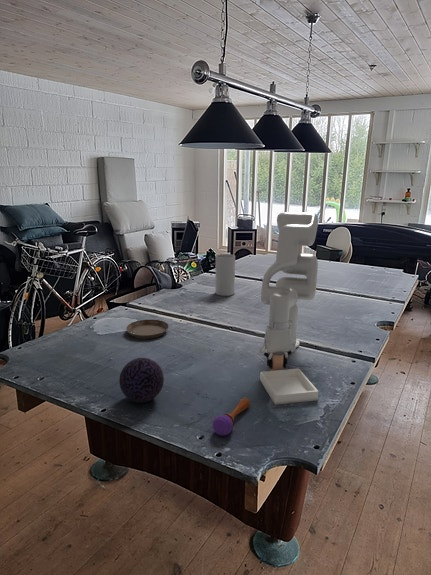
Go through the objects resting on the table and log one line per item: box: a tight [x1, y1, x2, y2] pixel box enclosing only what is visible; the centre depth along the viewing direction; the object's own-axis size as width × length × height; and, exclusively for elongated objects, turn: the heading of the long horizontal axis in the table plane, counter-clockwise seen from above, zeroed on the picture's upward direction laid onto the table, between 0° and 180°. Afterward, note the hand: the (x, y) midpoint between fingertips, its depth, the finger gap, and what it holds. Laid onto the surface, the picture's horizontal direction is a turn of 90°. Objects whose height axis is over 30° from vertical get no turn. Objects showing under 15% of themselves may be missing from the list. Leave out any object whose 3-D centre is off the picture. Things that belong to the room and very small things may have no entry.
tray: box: [259, 367, 319, 406], centre depth 150 cm, size 18×16×4 cm
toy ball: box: [118, 357, 165, 403], centre depth 142 cm, size 15×15×15 cm
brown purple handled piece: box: [212, 397, 251, 437], centre depth 131 cm, size 6×6×20 cm
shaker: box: [269, 352, 284, 371], centre depth 164 cm, size 5×5×9 cm
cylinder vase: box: [214, 253, 236, 297], centre depth 267 cm, size 12×12×25 cm
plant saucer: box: [125, 318, 170, 340], centre depth 204 cm, size 21×21×3 cm
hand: (276, 366), depth 164 cm, fingers closed on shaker, 5 cm apart
